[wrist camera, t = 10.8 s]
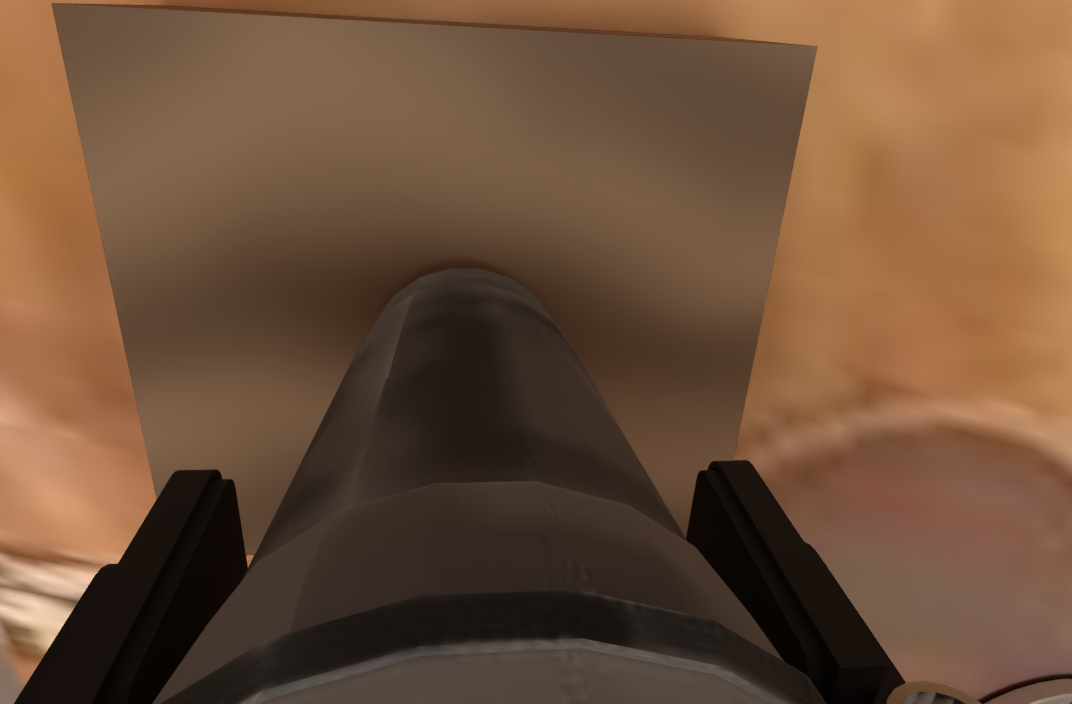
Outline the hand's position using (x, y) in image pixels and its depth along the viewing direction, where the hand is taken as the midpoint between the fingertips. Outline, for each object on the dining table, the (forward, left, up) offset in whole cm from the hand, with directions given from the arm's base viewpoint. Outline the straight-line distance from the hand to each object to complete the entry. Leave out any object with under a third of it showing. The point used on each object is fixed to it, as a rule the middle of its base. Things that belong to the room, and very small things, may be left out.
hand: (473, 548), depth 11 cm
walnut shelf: (0, 0, -14) cm, 14 cm away
